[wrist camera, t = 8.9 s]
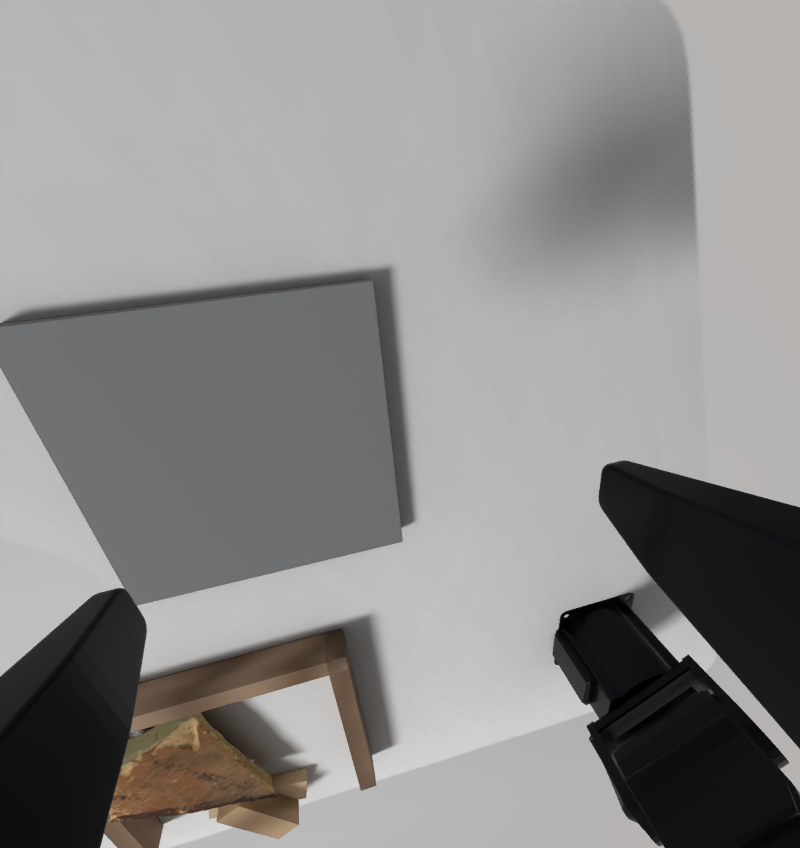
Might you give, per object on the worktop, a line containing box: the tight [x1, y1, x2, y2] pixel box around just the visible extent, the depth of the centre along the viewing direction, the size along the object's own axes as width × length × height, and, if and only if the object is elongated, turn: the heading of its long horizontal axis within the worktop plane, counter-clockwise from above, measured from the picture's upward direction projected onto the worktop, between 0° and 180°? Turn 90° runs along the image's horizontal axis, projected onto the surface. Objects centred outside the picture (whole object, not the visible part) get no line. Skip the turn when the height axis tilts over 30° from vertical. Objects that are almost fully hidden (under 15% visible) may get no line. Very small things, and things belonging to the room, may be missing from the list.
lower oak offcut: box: [209, 768, 308, 819], centre depth 31 cm, size 7×2×2 cm, turn 82°
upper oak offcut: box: [217, 792, 299, 839], centre depth 30 cm, size 6×2×2 cm, turn 36°
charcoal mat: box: [0, 279, 403, 606], centre depth 19 cm, size 14×14×1 cm
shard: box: [109, 713, 277, 823], centre depth 26 cm, size 11×8×2 cm
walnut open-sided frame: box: [104, 629, 376, 848], centre depth 27 cm, size 17×16×2 cm
